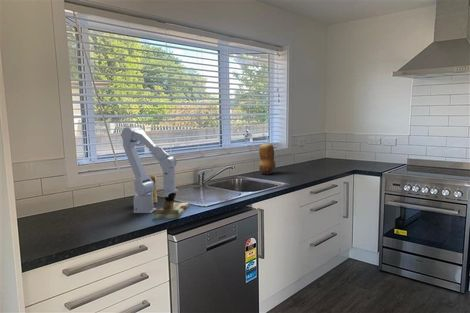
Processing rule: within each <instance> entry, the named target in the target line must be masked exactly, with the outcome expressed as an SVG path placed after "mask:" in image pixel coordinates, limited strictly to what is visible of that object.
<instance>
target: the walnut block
mask: <svg viewBox="0 0 470 313" xmlns="http://www.w3.org/2000/svg"><path fill="white" fill-rule="evenodd" d="M162 209H163V210H173V209H174V205H173V201H166V200H165V201H164V202H163V204H162Z"/></svg>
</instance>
